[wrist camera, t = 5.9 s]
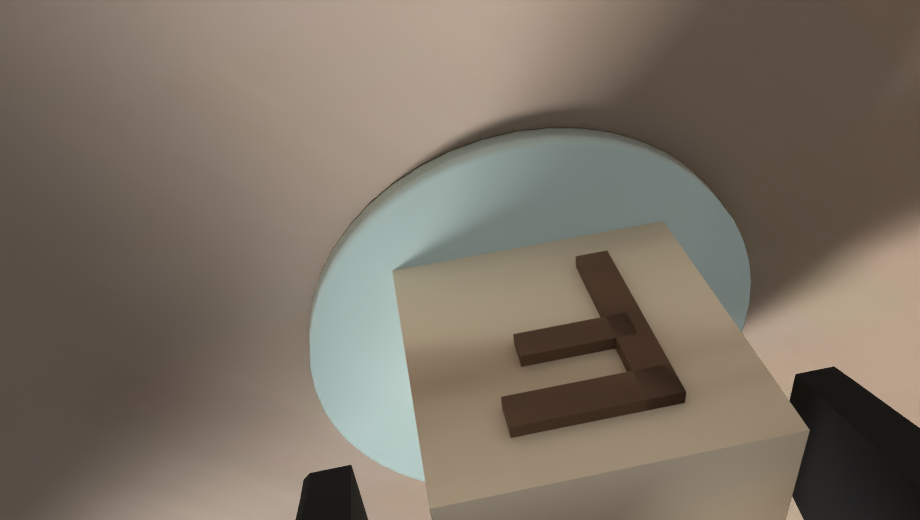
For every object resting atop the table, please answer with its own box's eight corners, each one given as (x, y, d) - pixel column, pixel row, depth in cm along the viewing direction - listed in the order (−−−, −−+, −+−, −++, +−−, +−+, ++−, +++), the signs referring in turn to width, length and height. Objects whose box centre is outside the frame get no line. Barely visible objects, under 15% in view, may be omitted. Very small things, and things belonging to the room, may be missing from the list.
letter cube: (649, 406, 15) (757, 623, 12) (428, 450, 15) (468, 689, 11) (663, 210, 12) (812, 419, 9) (390, 261, 12) (427, 497, 8)
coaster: (713, 423, 17) (726, 445, 16) (355, 497, 16) (357, 522, 16) (762, 88, 12) (781, 104, 11) (255, 176, 11) (253, 198, 11)
